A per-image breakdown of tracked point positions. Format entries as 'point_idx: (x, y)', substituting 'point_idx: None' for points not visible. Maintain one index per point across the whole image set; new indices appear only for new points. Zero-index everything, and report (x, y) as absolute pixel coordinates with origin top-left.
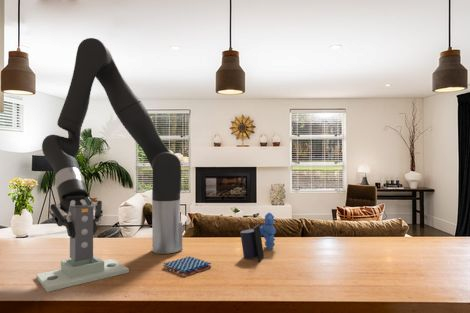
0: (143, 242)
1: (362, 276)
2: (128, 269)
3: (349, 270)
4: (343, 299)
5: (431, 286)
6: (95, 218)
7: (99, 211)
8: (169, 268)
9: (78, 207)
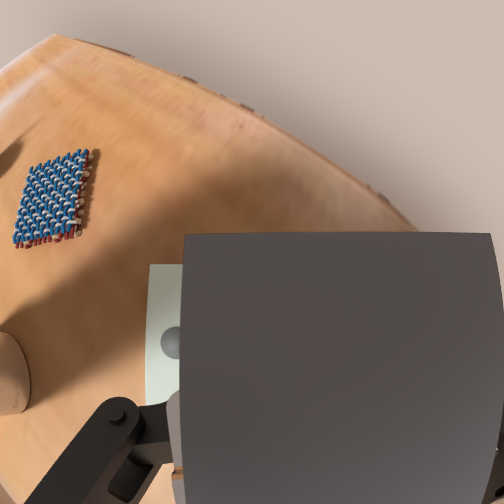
0: (31, 491)
1: (20, 77)
2: (151, 265)
3: (6, 93)
4: (79, 42)
5: (31, 52)
6: (163, 410)
7: (85, 450)
8: (77, 208)
9: (459, 290)
